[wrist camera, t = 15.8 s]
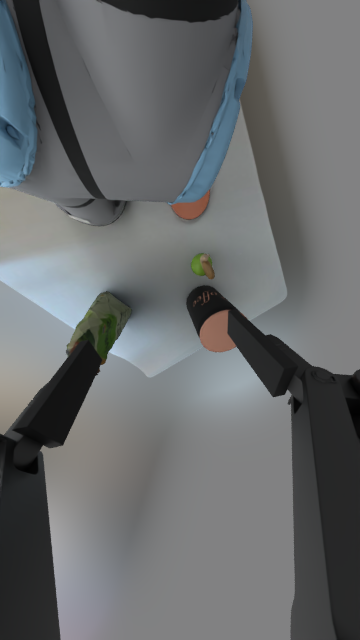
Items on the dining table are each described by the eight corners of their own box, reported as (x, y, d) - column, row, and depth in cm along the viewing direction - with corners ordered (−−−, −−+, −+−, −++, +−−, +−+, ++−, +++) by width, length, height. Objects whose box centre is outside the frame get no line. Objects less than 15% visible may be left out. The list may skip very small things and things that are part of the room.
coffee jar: (219, 282, 41) (255, 308, 26) (216, 313, 47) (244, 349, 31) (185, 285, 40) (201, 314, 25) (186, 316, 46) (199, 355, 30)
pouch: (116, 283, 37) (59, 342, 16) (142, 315, 43) (126, 389, 22) (85, 302, 39) (-5, 379, 18) (114, 330, 45) (74, 412, 24)
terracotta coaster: (164, 168, 27) (164, 166, 26) (207, 161, 27) (209, 159, 27) (172, 222, 32) (173, 222, 31) (209, 216, 32) (210, 215, 31)
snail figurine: (202, 244, 35) (219, 246, 25) (211, 266, 38) (230, 276, 28) (184, 256, 36) (193, 263, 26) (194, 277, 39) (207, 290, 29)
